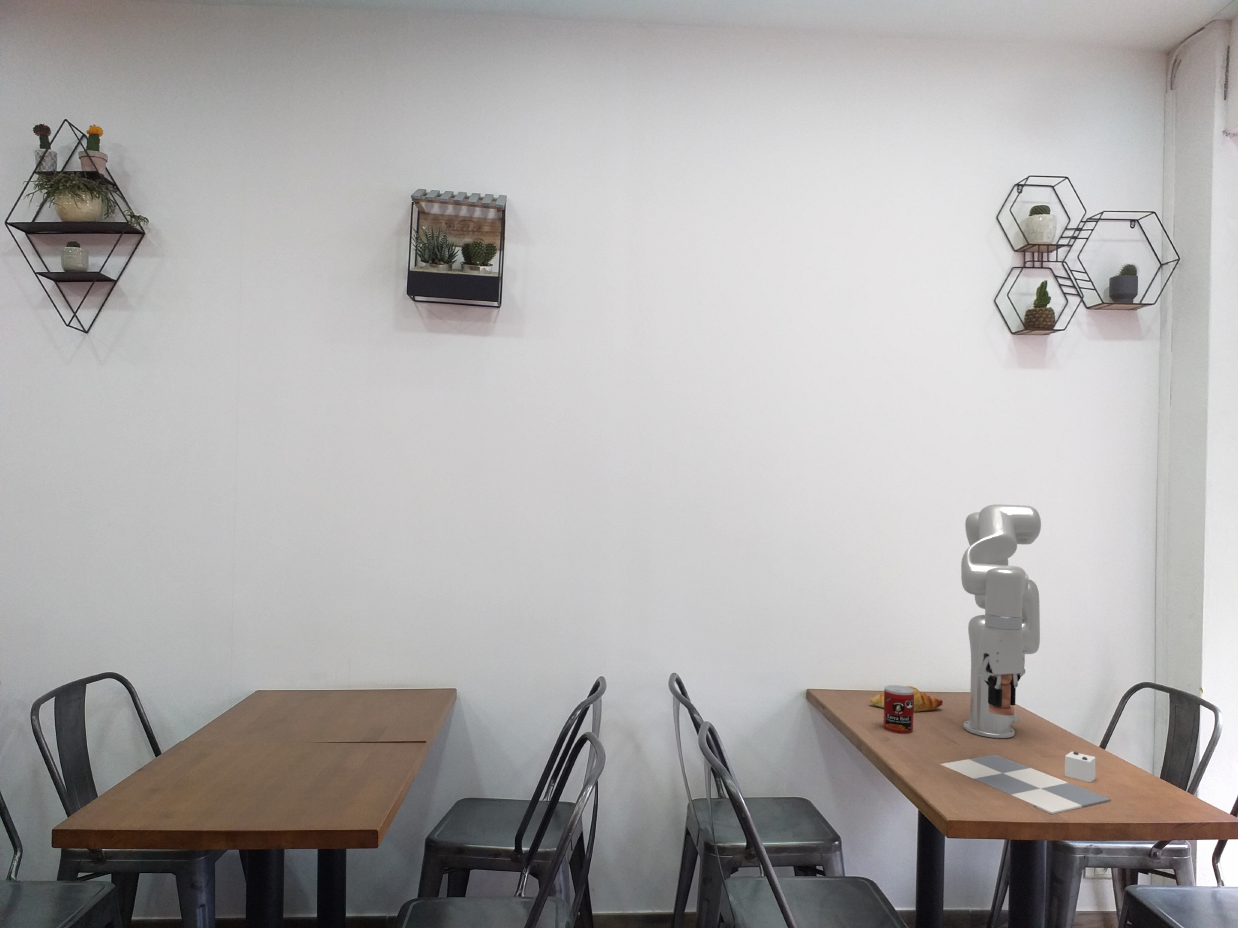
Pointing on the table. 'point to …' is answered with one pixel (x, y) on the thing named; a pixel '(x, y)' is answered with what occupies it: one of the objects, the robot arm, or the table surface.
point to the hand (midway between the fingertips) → (1001, 703)
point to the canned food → (898, 708)
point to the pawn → (1004, 697)
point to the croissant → (920, 701)
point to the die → (1080, 766)
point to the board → (1027, 784)
